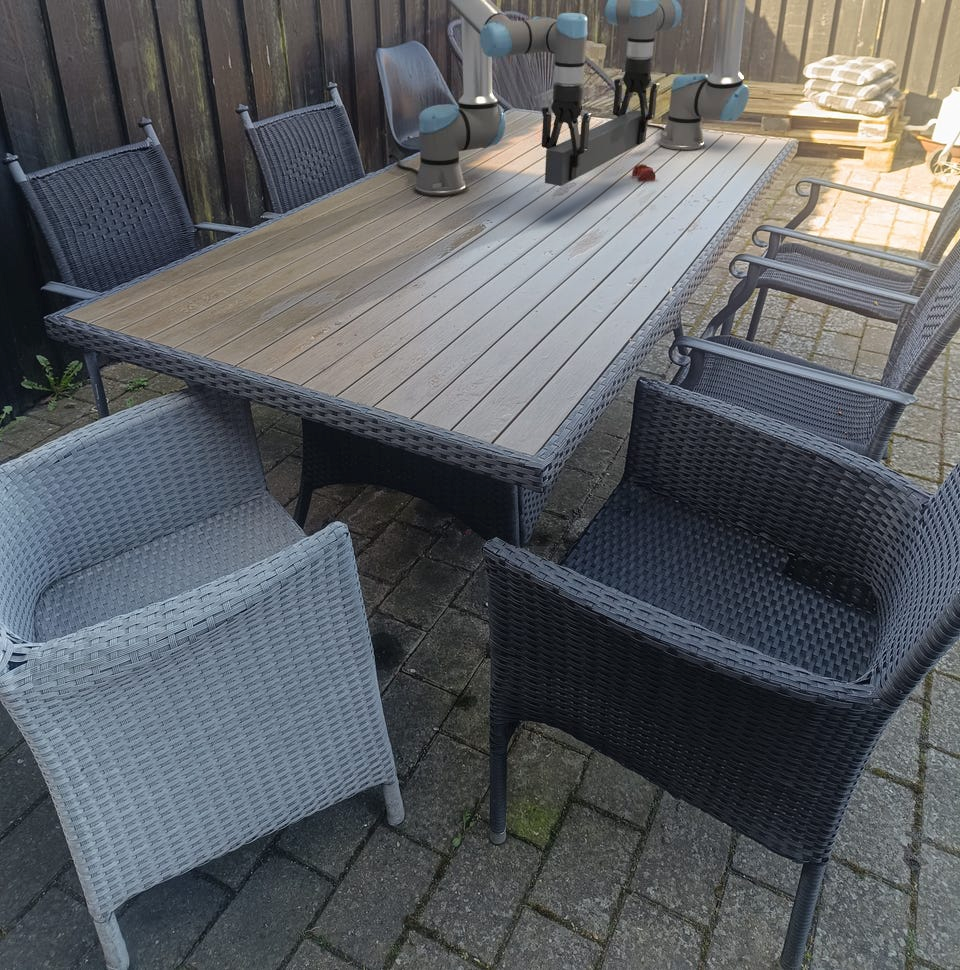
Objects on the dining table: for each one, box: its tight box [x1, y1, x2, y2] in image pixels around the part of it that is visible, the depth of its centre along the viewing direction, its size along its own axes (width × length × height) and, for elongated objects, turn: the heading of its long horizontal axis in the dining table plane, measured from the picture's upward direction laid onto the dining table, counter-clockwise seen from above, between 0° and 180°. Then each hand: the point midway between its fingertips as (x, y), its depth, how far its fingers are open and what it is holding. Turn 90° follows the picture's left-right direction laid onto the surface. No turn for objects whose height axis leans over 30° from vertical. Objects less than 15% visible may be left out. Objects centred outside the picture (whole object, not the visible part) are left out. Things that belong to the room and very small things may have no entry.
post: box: [544, 109, 647, 187], centre depth 239 cm, size 54×5×8 cm, turn 147°
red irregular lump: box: [631, 163, 656, 182], centre depth 267 cm, size 6×4×8 cm
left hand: (562, 177), depth 226 cm, fingers closed on post, 5 cm apart
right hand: (630, 141), depth 255 cm, fingers closed on post, 5 cm apart
